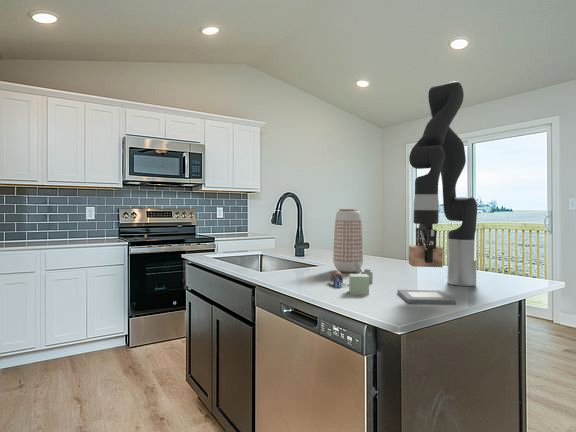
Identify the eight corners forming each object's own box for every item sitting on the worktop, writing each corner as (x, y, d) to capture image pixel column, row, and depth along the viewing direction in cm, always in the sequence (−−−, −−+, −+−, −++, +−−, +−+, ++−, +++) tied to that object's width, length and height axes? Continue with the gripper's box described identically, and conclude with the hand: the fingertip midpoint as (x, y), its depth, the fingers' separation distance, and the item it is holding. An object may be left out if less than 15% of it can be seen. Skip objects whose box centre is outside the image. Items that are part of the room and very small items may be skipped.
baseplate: (439, 293, 130) (439, 290, 130) (455, 304, 116) (455, 300, 116) (397, 293, 131) (397, 289, 131) (408, 303, 117) (408, 299, 117)
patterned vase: (343, 274, 167) (344, 209, 166) (327, 270, 179) (328, 209, 178) (368, 272, 172) (369, 209, 172) (351, 268, 184) (352, 209, 184)
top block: (366, 291, 134) (366, 274, 134) (368, 294, 129) (369, 276, 129) (349, 291, 134) (349, 273, 134) (350, 294, 129) (351, 276, 129)
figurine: (345, 293, 139) (342, 281, 151) (346, 279, 138) (343, 269, 150) (330, 293, 139) (328, 281, 151) (330, 279, 138) (329, 268, 150)
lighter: (372, 282, 149) (372, 262, 149) (372, 283, 148) (372, 262, 148) (353, 281, 151) (354, 261, 151) (353, 282, 150) (353, 261, 149)
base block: (437, 264, 126) (437, 246, 126) (442, 267, 120) (442, 247, 120) (408, 263, 127) (409, 245, 127) (412, 266, 121) (412, 247, 121)
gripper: (446, 209, 116) (445, 264, 116) (430, 209, 130) (429, 258, 131) (420, 208, 116) (419, 264, 117) (408, 208, 131) (407, 258, 131)
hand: (425, 260), depth 124 cm, fingers closed on base block, 6 cm apart
